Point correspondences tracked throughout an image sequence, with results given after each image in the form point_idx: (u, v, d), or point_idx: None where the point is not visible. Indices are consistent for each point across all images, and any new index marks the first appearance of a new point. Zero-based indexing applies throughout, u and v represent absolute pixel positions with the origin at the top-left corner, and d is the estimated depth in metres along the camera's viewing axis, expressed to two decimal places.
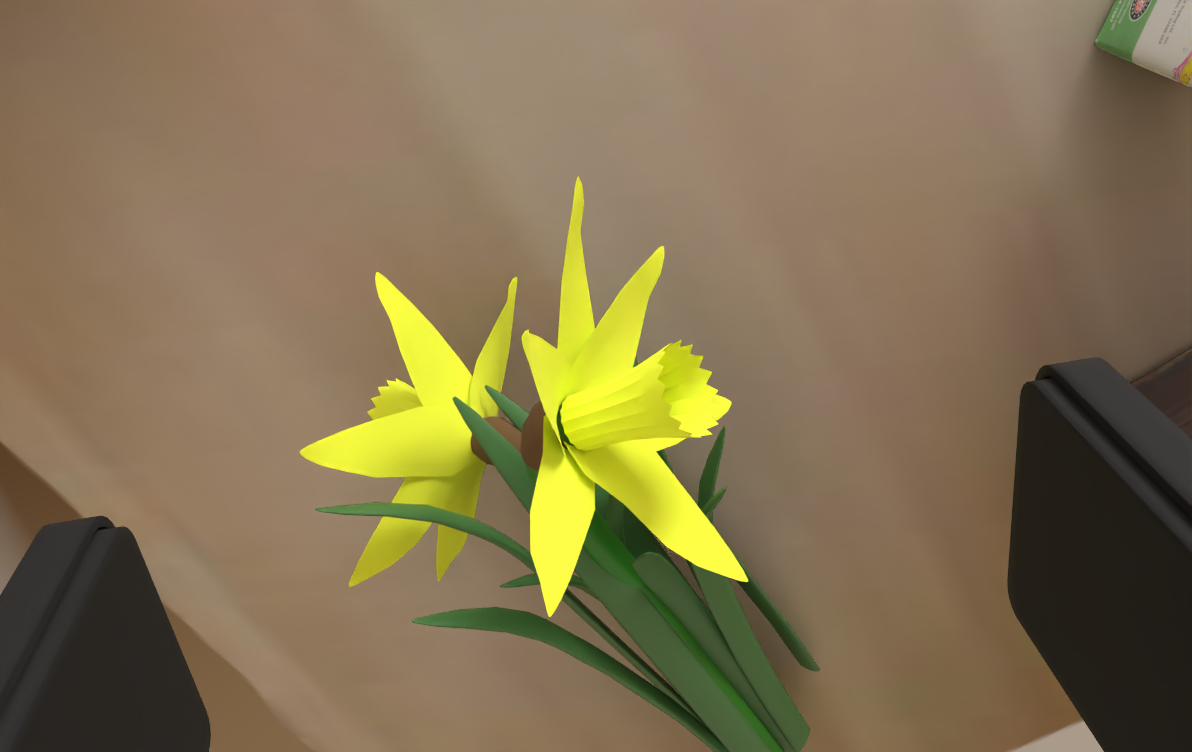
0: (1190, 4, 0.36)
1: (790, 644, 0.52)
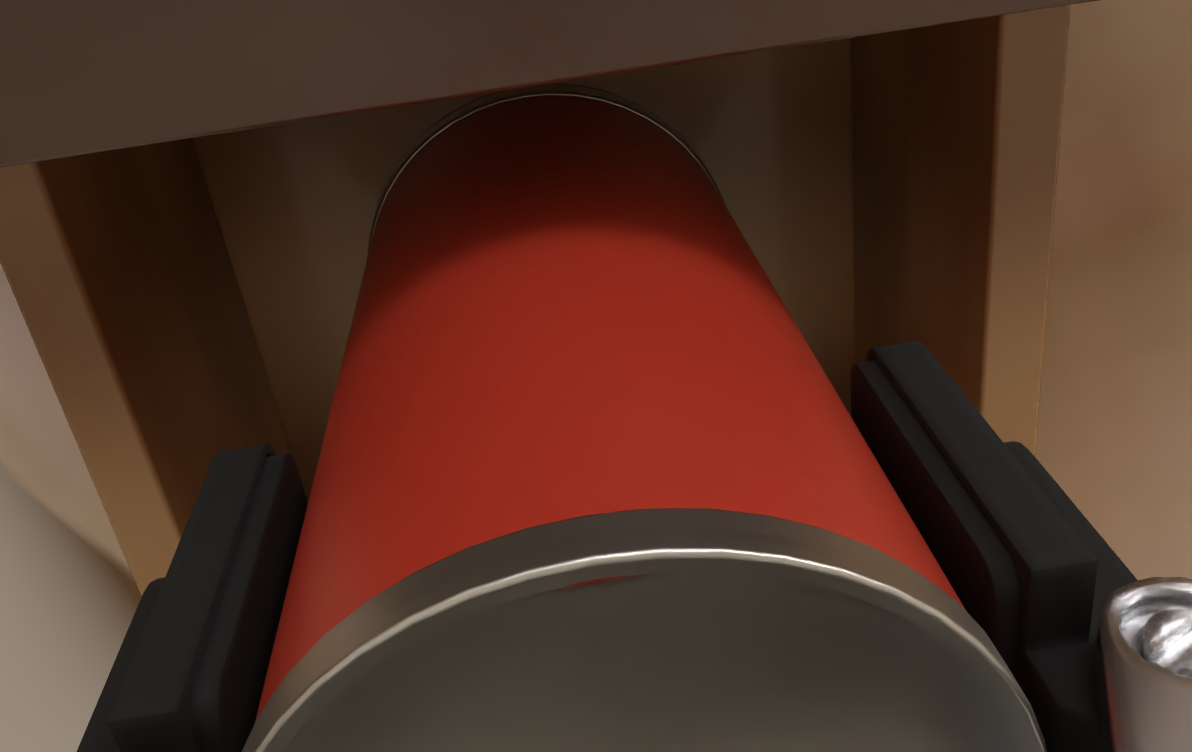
0: None
1: None
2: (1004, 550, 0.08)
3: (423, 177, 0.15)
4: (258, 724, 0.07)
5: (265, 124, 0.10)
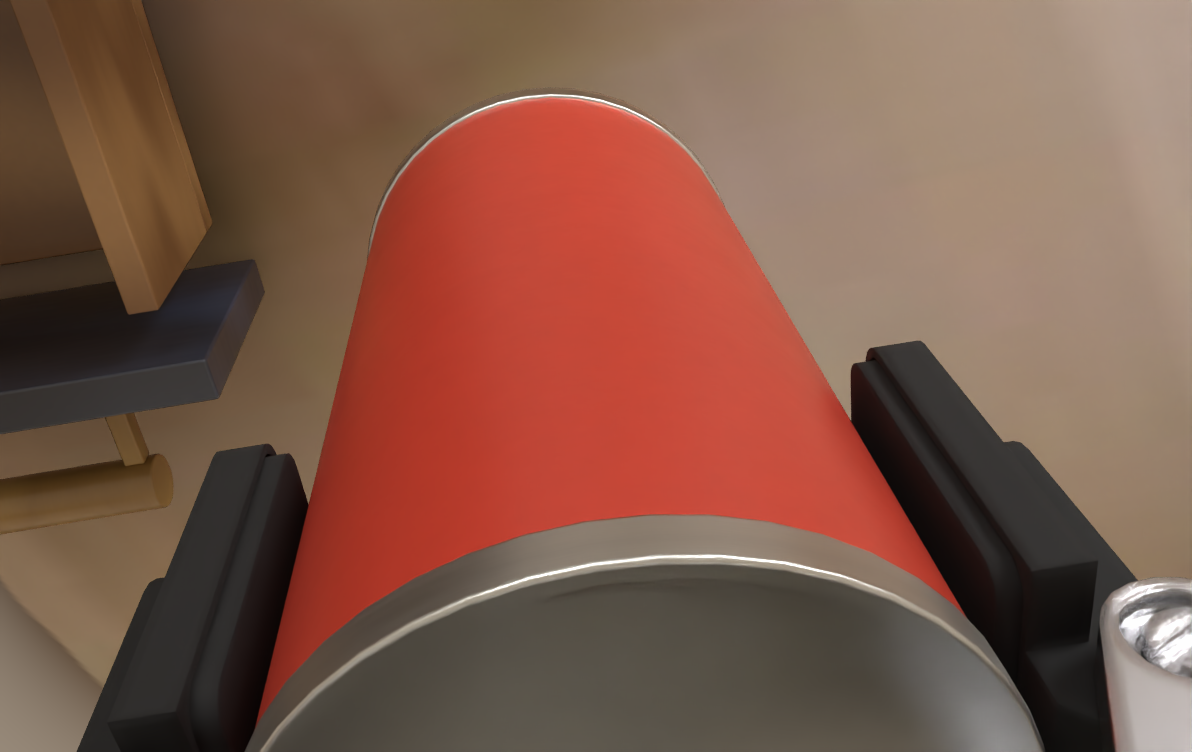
0: None
1: None
2: (1004, 550, 0.08)
3: (423, 180, 0.15)
4: (258, 730, 0.07)
5: None
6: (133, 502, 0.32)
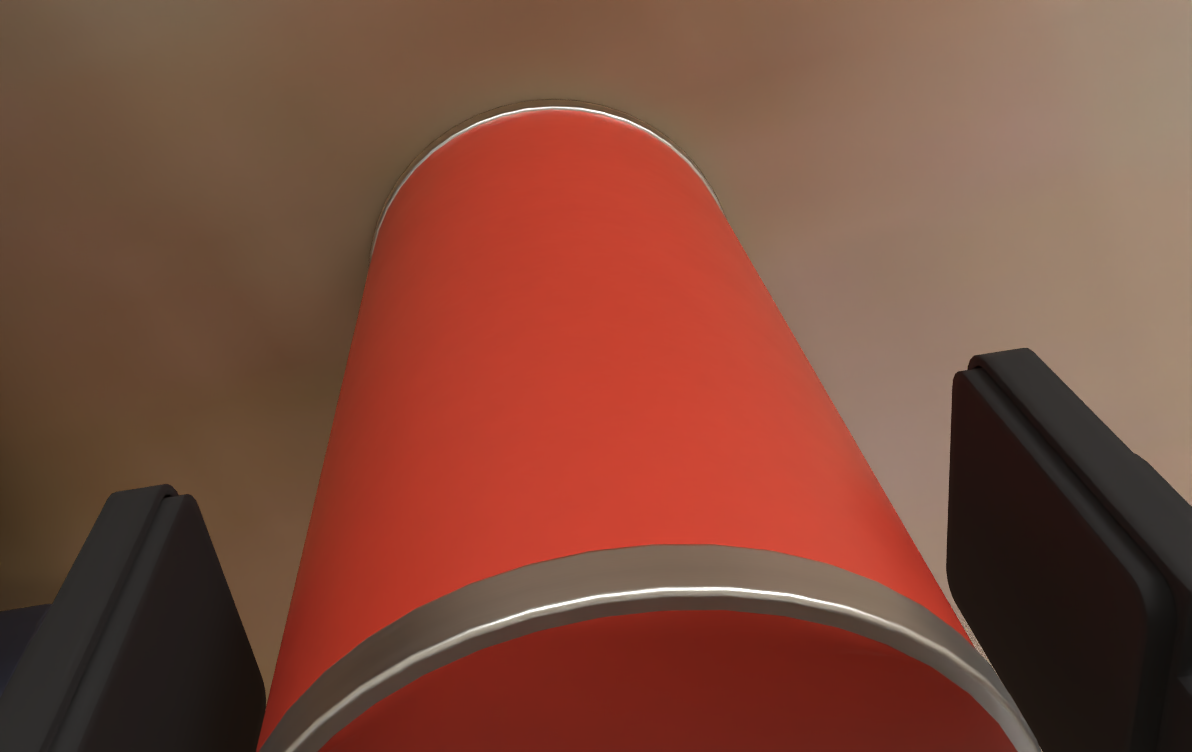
0: None
1: None
2: (1154, 571, 0.08)
3: (424, 193, 0.15)
4: None
5: None
6: None
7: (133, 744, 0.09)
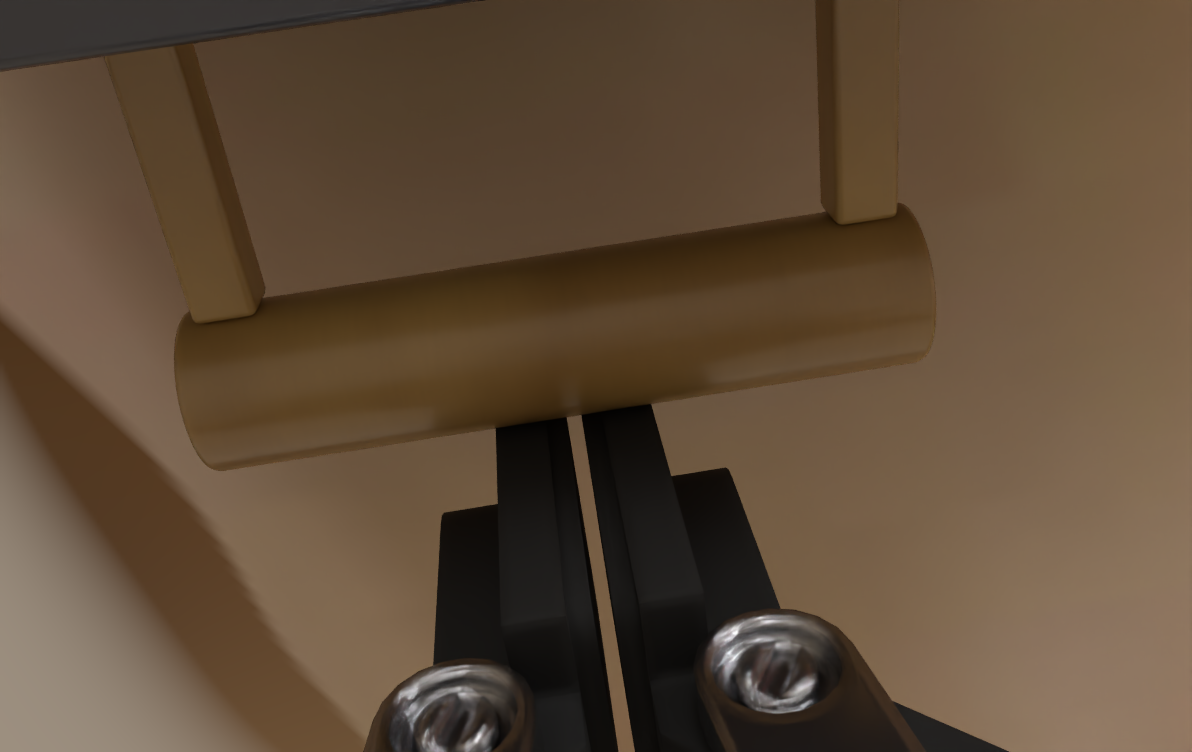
0: None
1: None
2: (632, 581, 0.09)
3: None
4: None
5: None
6: (861, 338, 0.10)
7: (592, 601, 0.10)
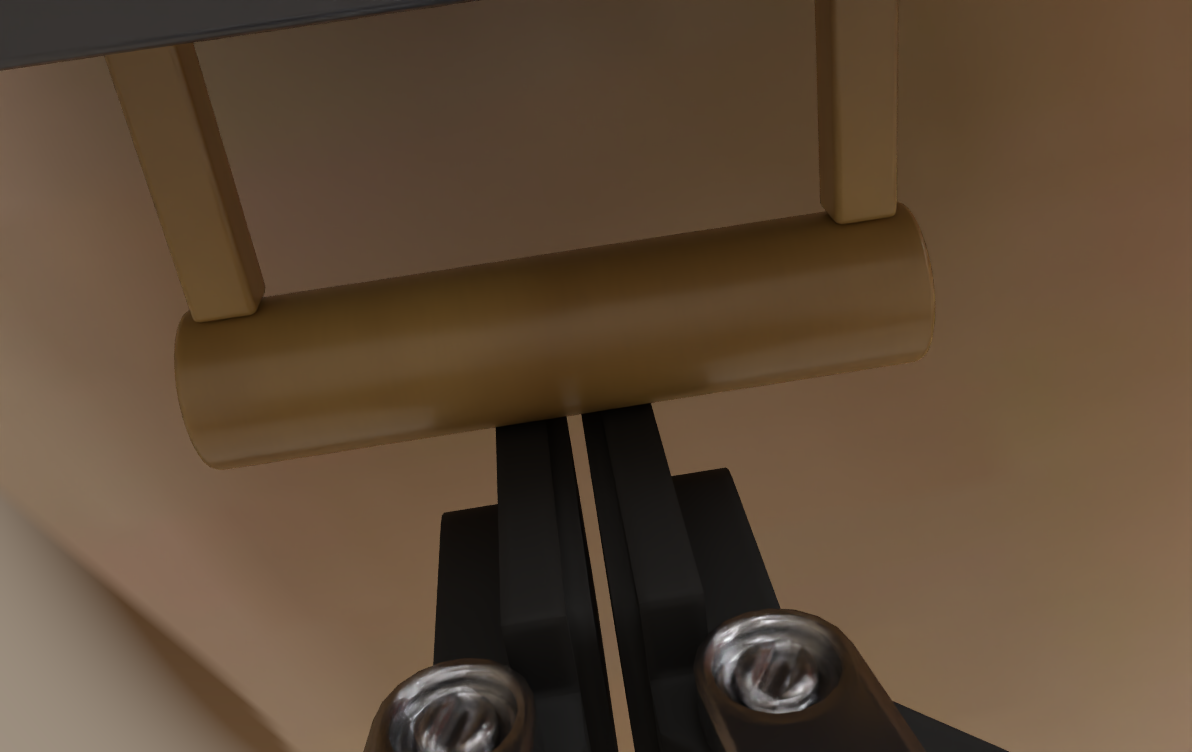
0: None
1: None
2: (632, 581, 0.09)
3: None
4: None
5: None
6: (861, 337, 0.10)
7: (591, 600, 0.10)
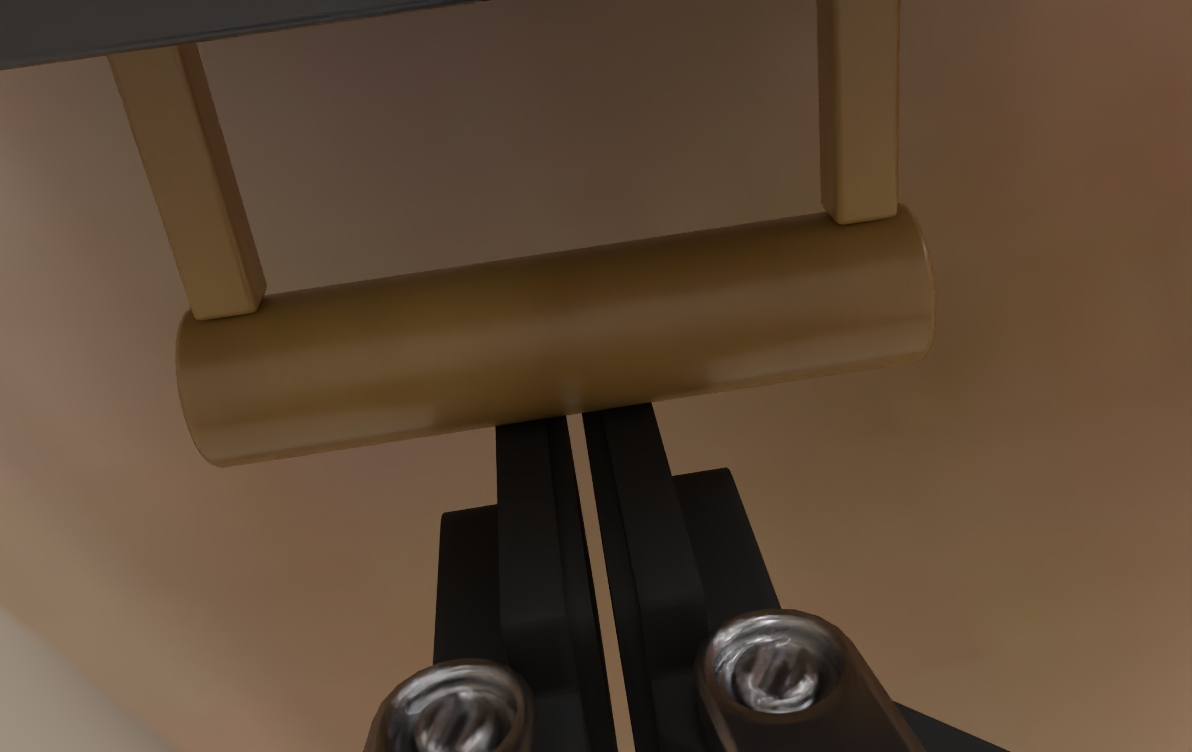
0: None
1: None
2: (632, 581, 0.09)
3: None
4: None
5: None
6: (861, 338, 0.10)
7: (592, 601, 0.10)
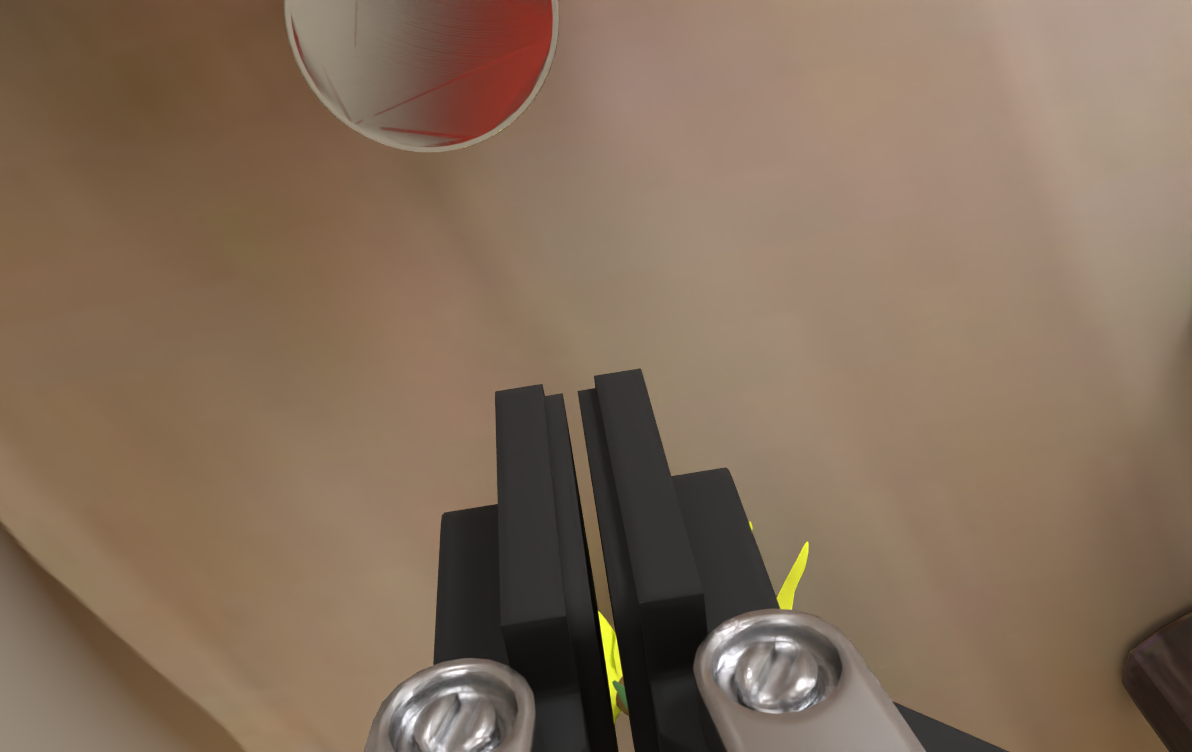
0: None
1: None
2: (632, 581, 0.09)
3: None
4: None
5: None
6: None
7: (592, 601, 0.10)
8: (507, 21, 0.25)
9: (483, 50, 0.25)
